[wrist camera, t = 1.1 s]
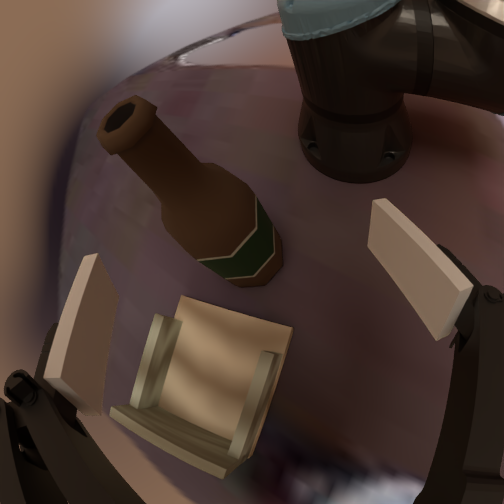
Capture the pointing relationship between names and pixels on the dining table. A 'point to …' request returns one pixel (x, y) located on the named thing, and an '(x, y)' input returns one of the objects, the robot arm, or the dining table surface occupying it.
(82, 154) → the dining table surface
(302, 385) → the dining table surface
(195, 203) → the beer bottle
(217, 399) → the wooden display stand
